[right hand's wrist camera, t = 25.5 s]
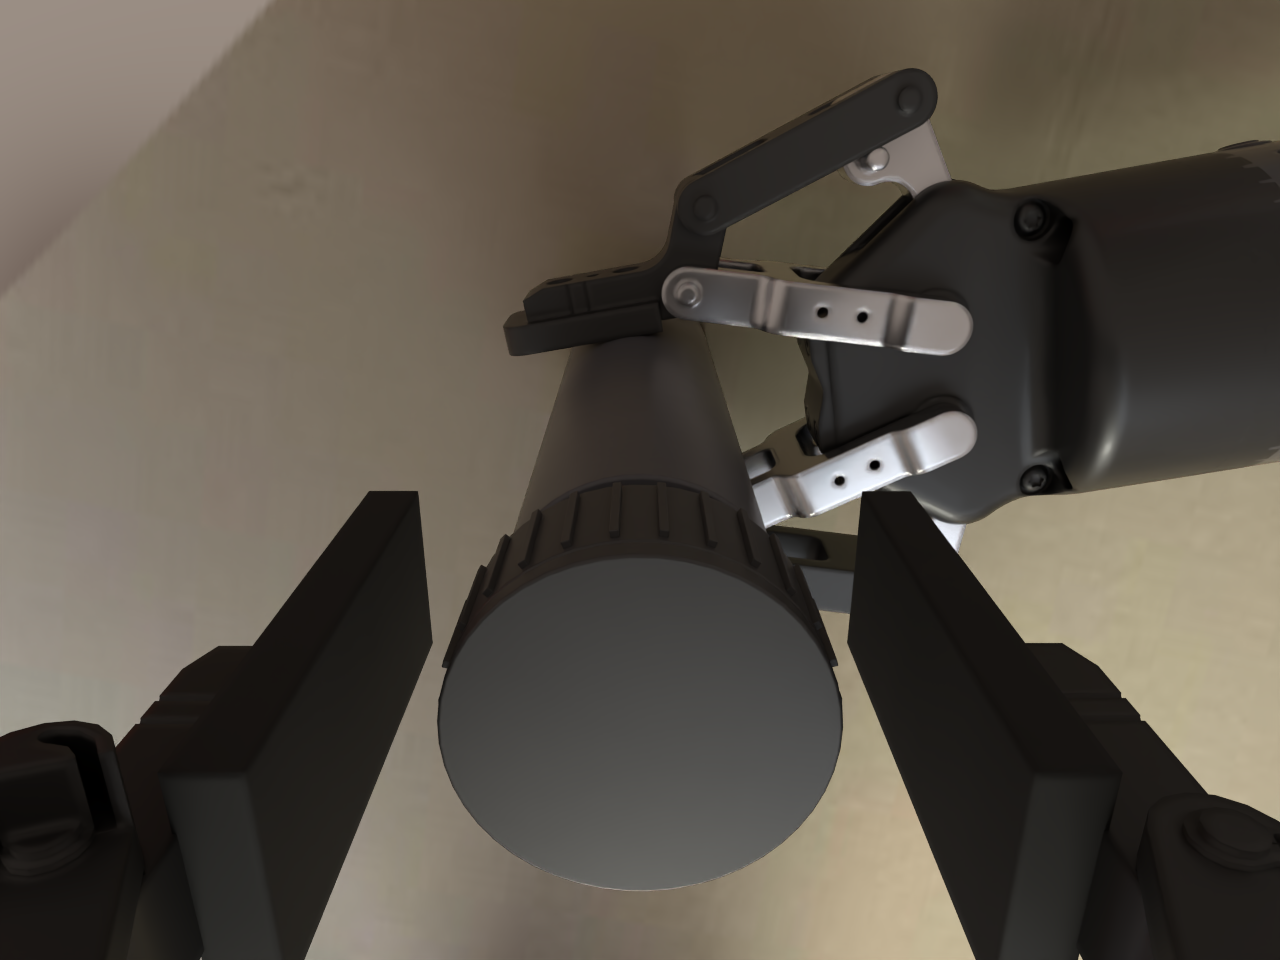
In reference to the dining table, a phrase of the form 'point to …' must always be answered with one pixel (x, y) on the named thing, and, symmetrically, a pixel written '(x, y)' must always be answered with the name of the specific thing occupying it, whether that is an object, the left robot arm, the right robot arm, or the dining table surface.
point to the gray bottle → (641, 423)
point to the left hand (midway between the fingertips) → (534, 428)
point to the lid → (640, 691)
